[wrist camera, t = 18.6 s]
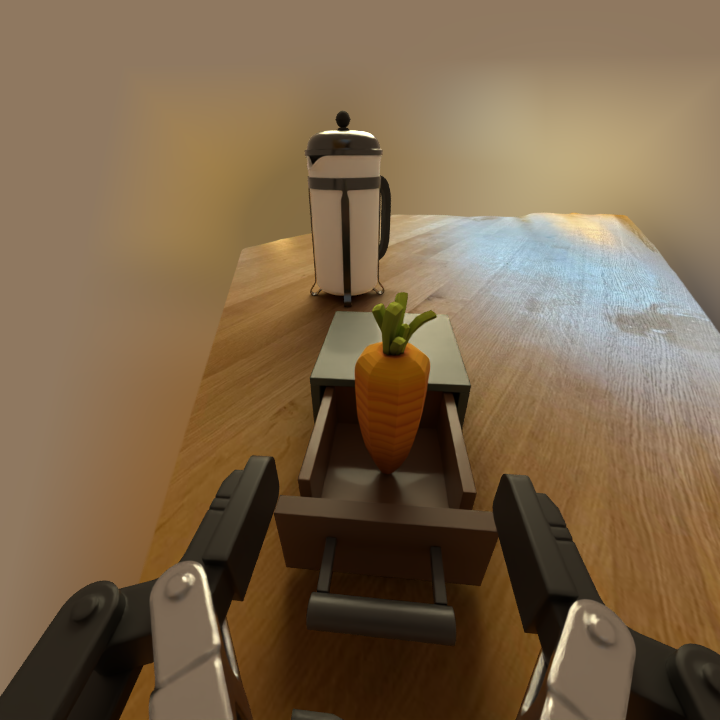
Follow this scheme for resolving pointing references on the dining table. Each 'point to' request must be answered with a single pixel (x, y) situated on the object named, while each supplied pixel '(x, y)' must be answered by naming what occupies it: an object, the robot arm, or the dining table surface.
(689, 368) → the dining table surface
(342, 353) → the cabinet
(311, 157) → the coffee press
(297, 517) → the drawer
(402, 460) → the carrot
